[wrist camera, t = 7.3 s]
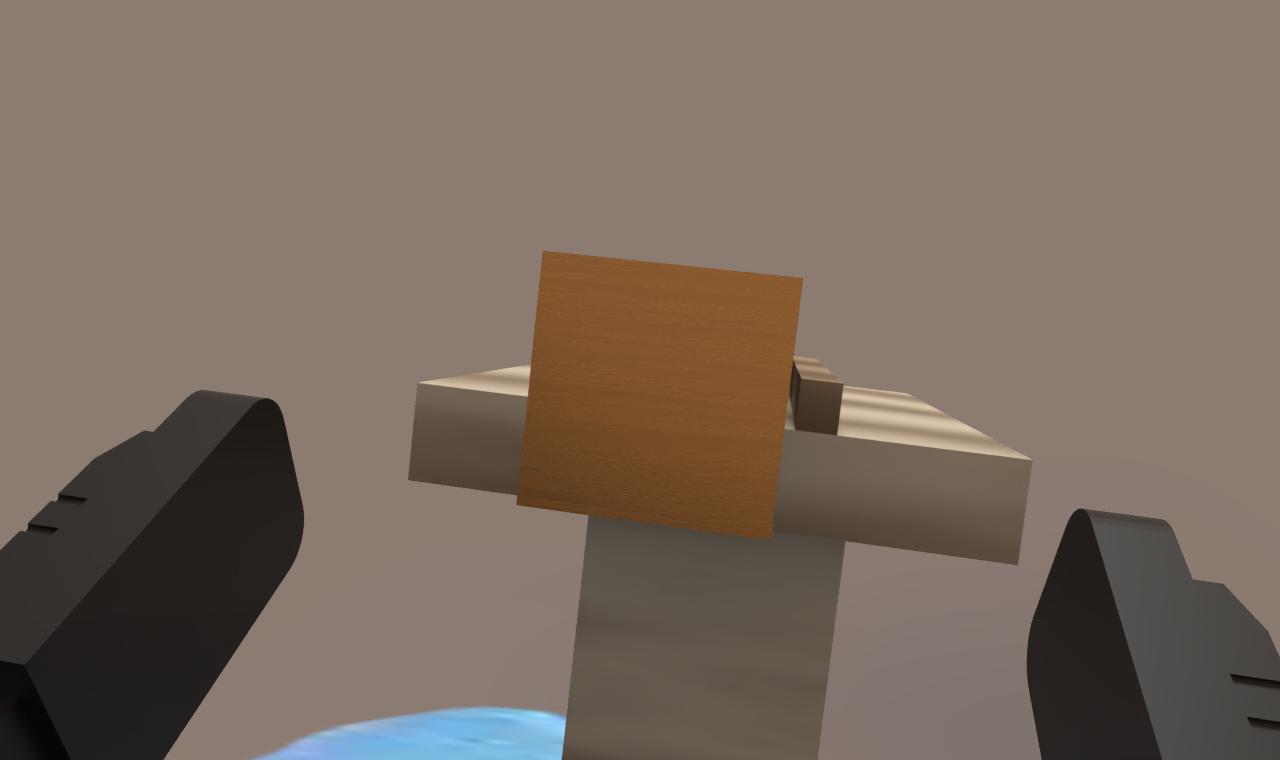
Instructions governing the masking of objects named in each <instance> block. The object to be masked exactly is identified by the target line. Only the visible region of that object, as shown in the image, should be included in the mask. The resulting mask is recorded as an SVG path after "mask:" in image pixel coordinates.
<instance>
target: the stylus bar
mask: <svg viewBox="0 0 1280 760" xmlns="http://www.w3.org/2000/svg"><path fill="white" fill-rule="evenodd" d="M802 283H803V278H795V277H786V276H777V275H767V274H757V273H749V272H739V271H729V270H720V269H710V268H701V267H691V266H682V265H673V264H663V263H654V262H644V261H634V260H625V259H616V258H606V257H596V256H587V255H578V254H568V253H559V252H549V251H543V254H542V264H541V273H540V283H539V293H538V302H537V312H536V321H535V331H534V341H533V350H532V360H531V369H530V379H529V389H528V398H527V408H526V418H525V427H524V437H523V446H522V456H521V466H520V475H519V485H518V495H517V505H520V506H528V507H535V508H542V509H549V510H556V511H563V512H570V513H577V514H584V515H591V516H598V517H605V518H613V519H620V520H627V521H634V522H641V523H648V524H655V525H662V526H669V527H676V528H683V529H691V530H698V531H705V532H712V533H719V534H726V535H733V536H740V537H747V538H754V539H762V540H769V541H771V535H772V527H773V519H774V511H775V503H776V495H777V486H778V478H779V470H780V462H781V454H782V446H783V438H784V429H785V421H786V413H787V405H788V397H789V389H790V381H791V373H792V364H793V356H794V347H795V340H796V332H797V324H798V315H799V307H800V299H801V290H802Z"/></svg>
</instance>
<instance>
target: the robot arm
mask: <svg viewBox="0 0 1280 760" xmlns="http://www.w3.org/2000/svg"><path fill="white" fill-rule="evenodd" d="M303 528H304V510H303V505H302V500H301V496H300V491H299V487H298V482H297V478H296V473H295V468H294V463H293V459H292V454H291V450H290V445H289V441H288V436H287V431H286V427H285V422H284V418H283V414H282V412H281V410H280V407H279V406H278V405H277V403H276V402H274V401H273V400H271V399H268V398H260V397H252V396H245V395H237V394H230V393H222V392H215V391H207V390H200V391H197V392H195V393H193V394H191V395H190V396H189V397H188V398H186V399H185V400H184V401H183V402H182V403H181V405H180V406H179V407H178V408H177V409H176V410H175V411H174V412H173V413H172V414H171V415H170V416H169V417H168V418H167V419H166V420H165V421H164V422H163V423H162V424H161V425H160V426H159V427H158V428H157V429H156V430H155V431H154V432H149V431H143V432H141V433H139V434H137V435H135V436H134V437H132V438H130V439H128V440H127V441H125V442H123V443H121V444H119V445H118V446H116V447H114V448H112V449H111V450H109V451H107V452H105V453H103V454H102V455H100V456H98V457H96V458H95V459H94V460H93V461H91V463H89V464H88V465H87V466H86V467H85V468H84V469H83V470H82V471H81V472H80V473H79V474H78V475H77V476H76V477H75V478H74V479H73V480H72V481H71V482H70V483H69V484H68V485H67V486H66V487H65V488H64V489H63V490H62V491H61V492H60V493H59V494H58V500H57V501H56V502H54V501H51V502H50V503H48V504H47V505H46V506H45V507H44V508H43V509H42V510H41V511H40V512H39V513H38V514H37V515H36V516H35V517H34V518H33V519H32V520H31V521H30V522H29V523H28V529H27V531H26V532H24V531H20V532H19V533H17V534H16V535H15V536H14V537H13V538H12V539H11V540H10V541H9V542H8V543H7V544H6V545H5V546H4V547H3V548H2V549H1V550H0V760H164V758H165V757H166V755H167V753H168V752H169V750H170V749H171V747H172V746H173V744H174V743H175V741H176V740H177V738H178V737H179V735H180V734H181V732H182V731H183V729H184V728H185V726H186V725H187V723H188V722H189V720H190V719H191V717H192V716H193V714H194V713H195V711H196V710H197V708H198V707H199V705H200V704H201V702H202V701H203V699H204V698H205V696H206V695H207V693H208V692H209V690H210V689H211V687H212V686H213V684H214V683H215V681H216V680H217V678H218V676H219V675H220V674H221V672H222V671H223V669H224V668H225V666H226V665H227V663H228V662H229V660H230V659H231V657H232V655H233V654H234V652H235V651H236V650H237V648H238V647H239V645H240V644H241V642H242V641H243V639H244V637H245V636H246V634H247V633H248V631H249V630H250V628H251V627H252V625H253V624H254V622H255V621H256V619H257V618H258V616H259V615H260V613H261V612H262V610H263V609H264V607H265V605H266V604H267V603H268V601H269V600H270V598H271V597H272V595H273V594H274V592H275V591H276V589H277V588H278V586H279V584H280V583H281V582H282V580H283V579H284V577H285V576H286V574H287V573H288V571H289V570H290V568H291V566H292V565H293V562H294V560H295V558H296V556H297V553H298V551H299V548H300V544H301V540H302V535H303ZM1027 649H1028V650H1027V679H1028V686H1029V692H1030V698H1031V703H1032V709H1033V714H1034V720H1035V725H1036V731H1037V736H1038V742H1039V747H1040V752H1041V758H1042V760H1280V657H1279V655H1278V652H1277V650H1276V648H1275V646H1274V644H1273V642H1272V639H1271V637H1270V635H1269V633H1268V631H1267V630H1266V629H1265V628H1264V627H1263V626H1262V625H1261V623H1260V622H1259V621H1258V620H1257V619H1256V618H1255V617H1254V616H1253V615H1252V614H1251V613H1250V612H1249V611H1248V610H1247V609H1246V608H1245V607H1244V606H1243V604H1242V603H1241V602H1240V601H1239V600H1238V599H1237V598H1236V597H1235V596H1234V595H1233V594H1232V593H1231V592H1230V591H1229V589H1227V587H1226V586H1225V585H1224V584H1220V583H1213V582H1206V581H1198V580H1193V579H1192V577H1191V574H1190V572H1189V569H1188V567H1187V564H1186V562H1185V559H1184V556H1183V554H1182V552H1181V549H1180V546H1179V544H1178V541H1177V539H1176V536H1175V534H1174V532H1173V530H1172V528H1171V526H1170V525H1169V524H1168V523H1167V522H1166V521H1165V520H1162V519H1156V518H1148V517H1141V516H1133V515H1126V514H1118V513H1111V512H1102V511H1095V510H1088V509H1077V510H1076V511H1075V512H1074V513H1073V514H1072V516H1071V517H1070V519H1069V521H1068V523H1067V526H1066V528H1065V531H1064V534H1063V537H1062V539H1061V542H1060V545H1059V548H1058V550H1057V553H1056V556H1055V559H1054V562H1053V564H1052V567H1051V570H1050V572H1049V575H1048V578H1047V581H1046V584H1045V587H1044V589H1043V592H1042V595H1041V597H1040V600H1039V603H1038V606H1037V608H1036V611H1035V614H1034V617H1033V620H1032V623H1031V628H1030V633H1029V639H1028V648H1027Z"/></svg>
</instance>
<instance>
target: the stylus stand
mask: <svg viewBox="0 0 1280 760" xmlns="http://www.w3.org/2000/svg"><path fill="white" fill-rule="evenodd" d="M530 369H531V365H525V366H519V367H513V368H507V369H500V370H494V371H488V372H482V373H475V374H470V375H463V376H456V377H450V378H444V379H438V380H432V381H426V382H419V383H417V394H416V404H415V415H414V425H413V435H412V447H411V456H410V467H409V478H408V480H412V481H419V482H426V483H433V484H441V485H448V486H455V487H462V488H469V489H476V490H483V491H490V492H497V493H505V494H513V495H518V485H519V475H520V466H521V456H522V446H523V437H524V427H525V418H526V408H527V398H528V389H529V379H530ZM1031 467H1032V459H1030V458H1028V457H1026V456H1024V455H1022V454H1020V453H1018V452H1016V451H1015V450H1013V449H1010V448H1009V447H1007V446H1005V445H1003V444H1001V443H1000V442H998V441H996V440H994V439H992V438H990V437H988V436H986V435H984V434H983V433H981V432H979V431H977V430H975V429H973V428H971V427H969V426H967V425H966V424H964V423H962V422H960V421H958V420H956V419H954V418H952V417H950V416H949V415H947V414H945V413H943V412H941V411H939V410H937V409H935V408H934V407H932V406H929V405H928V404H926V403H924V402H922V401H920V400H918V399H916V398H915V397H913V396H911V395H909V394H907V393H898V392H890V391H881V390H873V389H864V388H856V387H847V386H844V383H843V382H841V381H840V380H839V379H838V378H837V377H836V376H835V375H833V374H832V373H831V372H830V371H829V370H828V369H827V368H826V367H825V366H823V365H822V364H821V363H820V362H819V361H818V360H817V359H816V358H814V357H811V356H802V355H794V356H793V364H792V373H791V381H790V389H789V397H788V405H787V413H786V421H785V429H784V438H783V446H782V454H781V462H780V470H779V478H778V486H777V495H776V503H775V511H774V519H773V527H772V535H771V541H769V540H762V539H754V538H747V537H740V536H733V535H726V534H719V533H712V532H705V531H698V530H691V529H683V528H676V527H669V526H662V525H655V524H648V523H641V522H634V521H627V520H620V519H613V518H605V517H598V516H591V515H589V517H588V526H587V535H586V545H585V554H584V563H583V571H582V580H581V590H580V600H579V608H578V618H577V626H576V636H575V645H574V654H573V663H572V673H571V681H570V690H569V699H568V709H567V718H566V727H565V736H564V745H563V754H562V760H817V758H818V751H819V743H820V736H821V728H822V720H823V712H824V703H825V696H826V689H827V681H828V673H829V665H830V658H831V650H832V642H833V634H834V626H835V619H836V611H837V603H838V595H839V588H840V580H841V572H842V564H843V556H844V549H845V541H849V542H856V543H863V544H870V545H877V546H884V547H892V548H899V549H907V550H913V551H921V552H928V553H935V554H942V555H949V556H956V557H963V558H970V559H978V560H985V561H992V562H1000V563H1006V564H1013V565H1018V560H1019V553H1020V545H1021V537H1022V531H1023V524H1024V517H1025V510H1026V503H1027V496H1028V489H1029V482H1030V475H1031Z"/></svg>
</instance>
